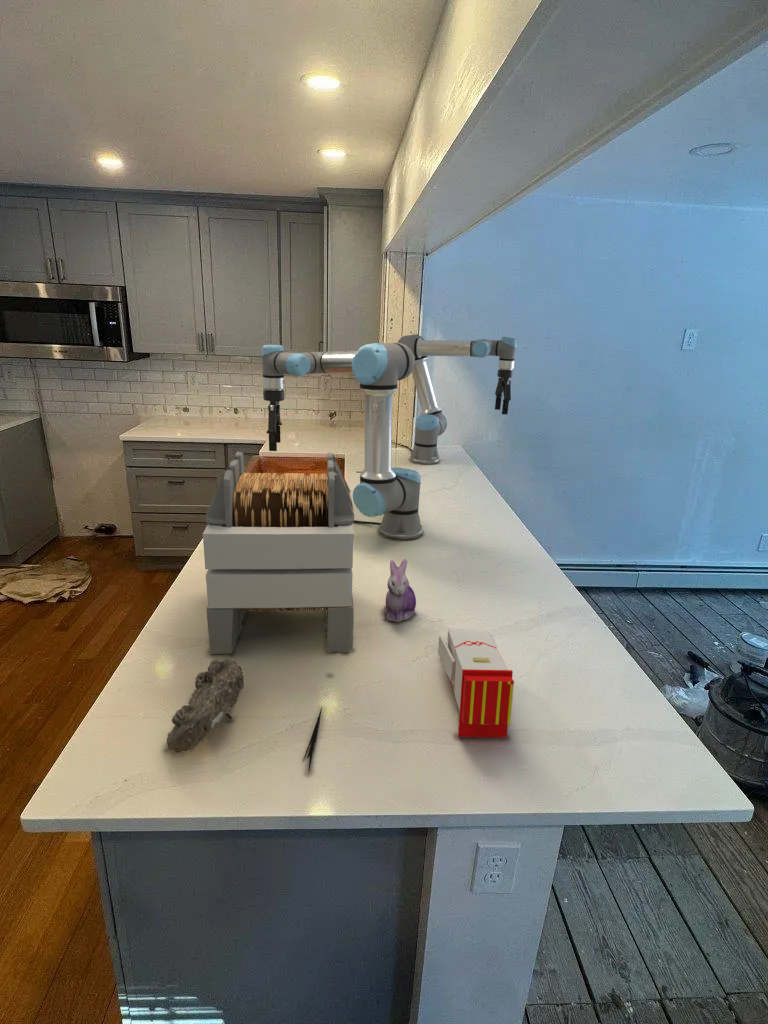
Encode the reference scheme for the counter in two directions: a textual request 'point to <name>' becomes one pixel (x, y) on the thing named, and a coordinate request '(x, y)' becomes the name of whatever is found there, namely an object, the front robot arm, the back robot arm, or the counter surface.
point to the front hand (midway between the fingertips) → (275, 446)
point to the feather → (313, 740)
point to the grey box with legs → (279, 550)
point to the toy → (478, 682)
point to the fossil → (206, 705)
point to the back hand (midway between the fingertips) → (500, 411)
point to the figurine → (399, 594)
